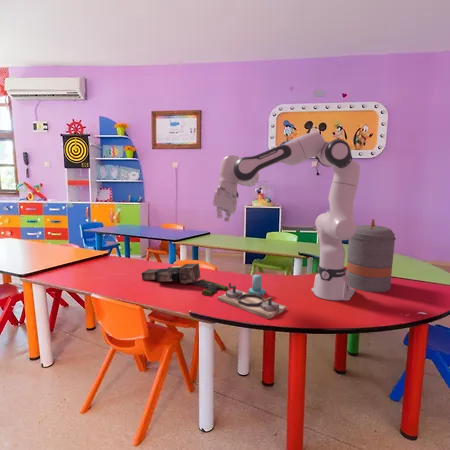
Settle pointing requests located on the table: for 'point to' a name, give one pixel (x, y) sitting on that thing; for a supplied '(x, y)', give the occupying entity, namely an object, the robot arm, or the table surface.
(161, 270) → the toy
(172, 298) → the table surface
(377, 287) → the storage container
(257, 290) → the teal gear
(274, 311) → the board
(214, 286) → the gun
